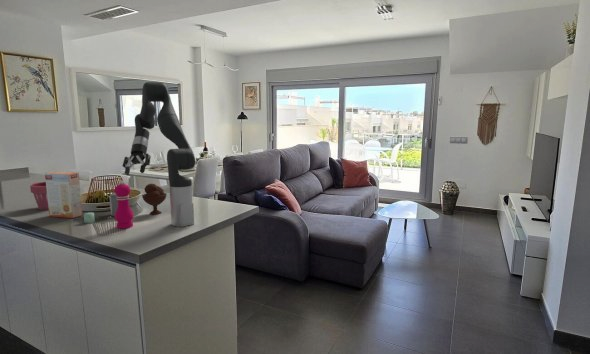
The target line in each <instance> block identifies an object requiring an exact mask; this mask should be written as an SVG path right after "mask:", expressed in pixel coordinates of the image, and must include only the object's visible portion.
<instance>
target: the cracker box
mask: <svg viewBox="0 0 590 354" xmlns="http://www.w3.org/2000/svg"><path fill="white" fill-rule="evenodd" d="M44 176H45V177H44V179H45V182H46V189H47V198H48V208H49V210H48V215H49V217H55V218H67V219H75V218H78V217H81V216H83V206H82V205H83V204H82V195H81V185H80V184H81V182H80V173H79V172H73V171H71V172H69V171H51V172H50V171H48V172H45V173H44Z"/></svg>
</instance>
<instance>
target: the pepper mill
mask: <svg viewBox="0 0 590 354" xmlns="http://www.w3.org/2000/svg"><path fill="white" fill-rule="evenodd" d="M114 193H115V194H116V195H117V196H116V197H117V198H116V199H117V200H118V208H117V210H116V213H115V216H114V220H115V221H116V222H117V223H116V228H117V229H120V230H122V229H124V230H125V229H129V228H131V227H133V226H134V222H133V219H134V216H135V215H134V212H133V210H132V209H131V206H130V202H129V200H130V193H131V187H130V186H129V185H127V184H125V181H124V180H119V184H117V185H116V186H115V187H114Z"/></svg>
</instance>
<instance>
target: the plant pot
mask: <svg viewBox="0 0 590 354" xmlns="http://www.w3.org/2000/svg"><path fill="white" fill-rule="evenodd" d="M29 187H30V188H29V189H30V193H32V194H33V197H34V199H35V203H36V204H37V208H38V209H39V210H41V211H45V210H46V211H47V210H48V211H49V208H48V198H47V189H46V181H39V182H35V183H30V185H29Z"/></svg>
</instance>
